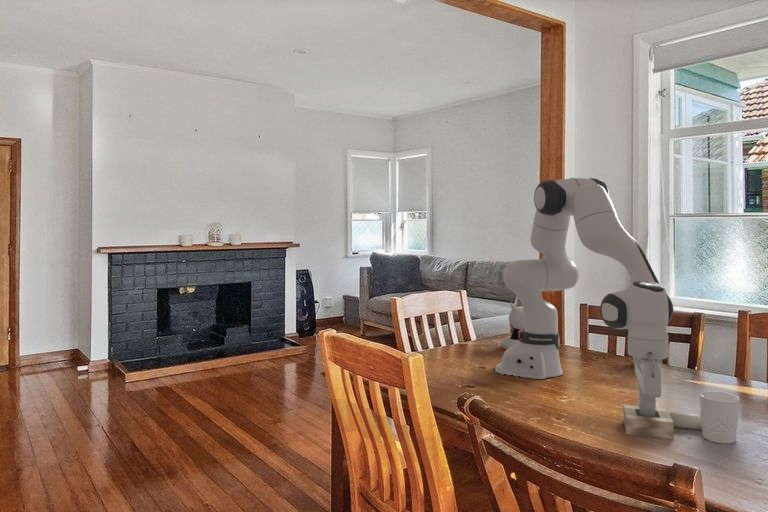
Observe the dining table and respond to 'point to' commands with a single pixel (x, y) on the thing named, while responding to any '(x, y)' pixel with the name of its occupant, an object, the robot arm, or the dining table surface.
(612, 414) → the dining table surface
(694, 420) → the lying peg
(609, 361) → the dining table surface
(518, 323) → the decorative figurine
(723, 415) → the white cup
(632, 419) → the socket
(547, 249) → the robot arm
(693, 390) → the dining table surface
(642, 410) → the peg
